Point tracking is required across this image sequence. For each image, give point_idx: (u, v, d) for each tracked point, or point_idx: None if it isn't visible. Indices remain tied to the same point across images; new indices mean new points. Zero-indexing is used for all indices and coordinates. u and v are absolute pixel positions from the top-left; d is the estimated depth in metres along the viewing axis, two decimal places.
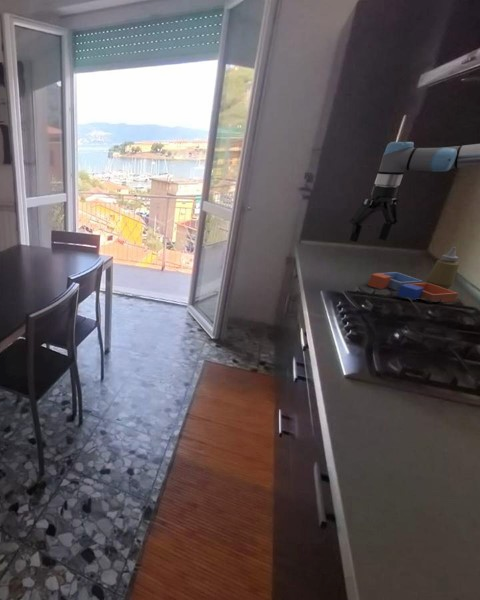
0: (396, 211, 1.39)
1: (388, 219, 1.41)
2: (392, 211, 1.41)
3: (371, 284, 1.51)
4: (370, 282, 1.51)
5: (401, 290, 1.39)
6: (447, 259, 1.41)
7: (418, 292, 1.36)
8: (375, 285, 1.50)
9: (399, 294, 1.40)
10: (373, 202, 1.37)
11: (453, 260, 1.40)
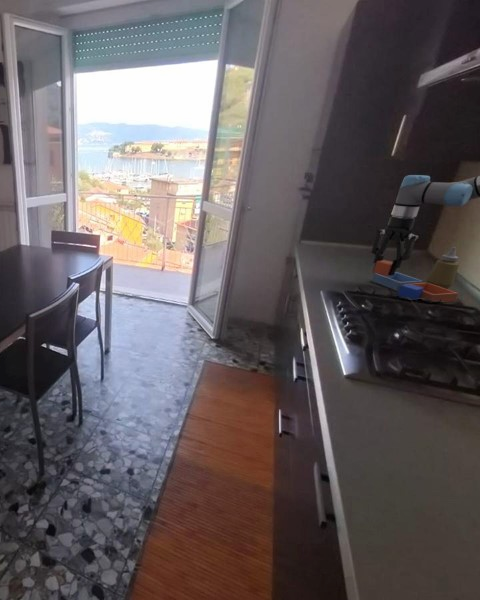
0: (407, 248, 1.39)
1: None
2: None
3: (376, 271, 1.48)
4: (375, 269, 1.48)
5: (401, 290, 1.39)
6: (447, 259, 1.41)
7: (418, 292, 1.36)
8: (381, 272, 1.47)
9: (399, 294, 1.40)
10: (385, 230, 1.45)
11: (453, 260, 1.40)
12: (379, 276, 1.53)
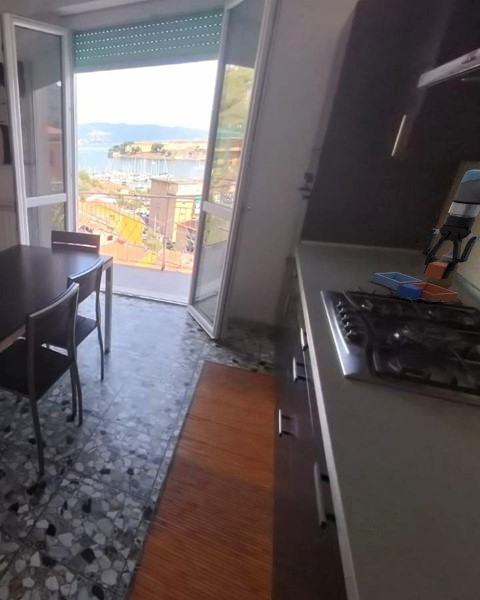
0: (465, 249, 1.28)
1: None
2: None
3: (428, 274, 1.37)
4: (427, 272, 1.37)
5: (401, 290, 1.39)
6: (447, 259, 1.41)
7: (418, 292, 1.36)
8: (433, 275, 1.36)
9: (399, 294, 1.40)
10: (439, 229, 1.33)
11: None
12: (379, 276, 1.53)
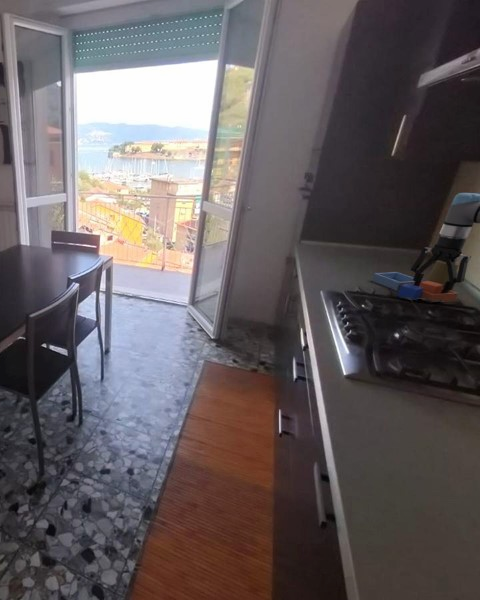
0: (460, 269, 1.30)
1: None
2: None
3: None
4: None
5: (401, 290, 1.39)
6: None
7: (418, 292, 1.36)
8: None
9: (399, 294, 1.40)
10: (431, 249, 1.37)
11: None
12: (379, 276, 1.53)
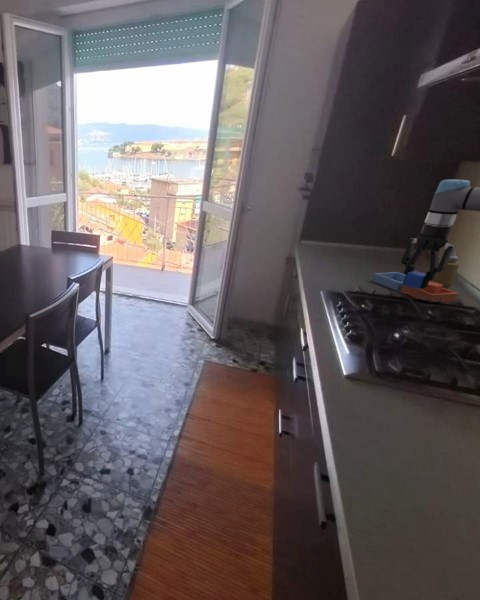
0: (442, 259, 1.27)
1: None
2: None
3: None
4: None
5: (407, 277, 1.36)
6: None
7: None
8: None
9: (405, 281, 1.37)
10: (417, 239, 1.33)
11: (453, 260, 1.40)
12: (379, 276, 1.53)
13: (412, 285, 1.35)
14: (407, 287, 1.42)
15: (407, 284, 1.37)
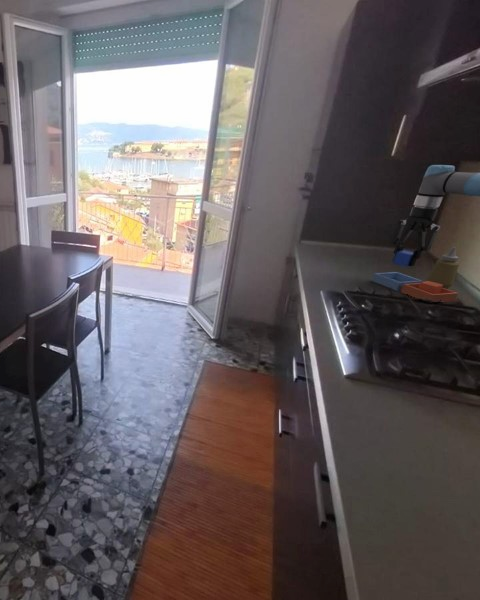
0: (429, 238, 1.39)
1: None
2: None
3: None
4: None
5: (397, 256, 1.48)
6: (447, 259, 1.41)
7: None
8: None
9: (395, 260, 1.49)
10: (406, 220, 1.45)
11: (453, 260, 1.40)
12: (379, 276, 1.53)
13: (401, 263, 1.47)
14: (407, 287, 1.42)
15: (396, 262, 1.49)
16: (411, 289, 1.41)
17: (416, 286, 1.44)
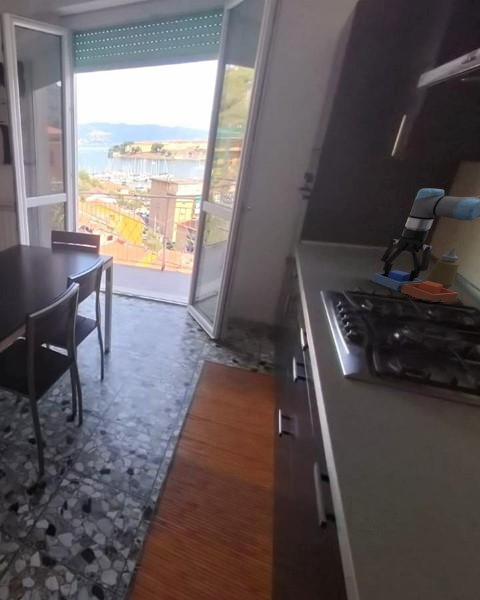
0: (423, 259, 1.41)
1: None
2: None
3: None
4: None
5: (389, 276, 1.52)
6: (447, 259, 1.41)
7: (405, 277, 1.49)
8: None
9: None
10: (398, 241, 1.48)
11: (453, 260, 1.40)
12: (379, 276, 1.53)
13: None
14: (407, 287, 1.42)
15: None
16: (411, 289, 1.41)
17: (416, 286, 1.44)
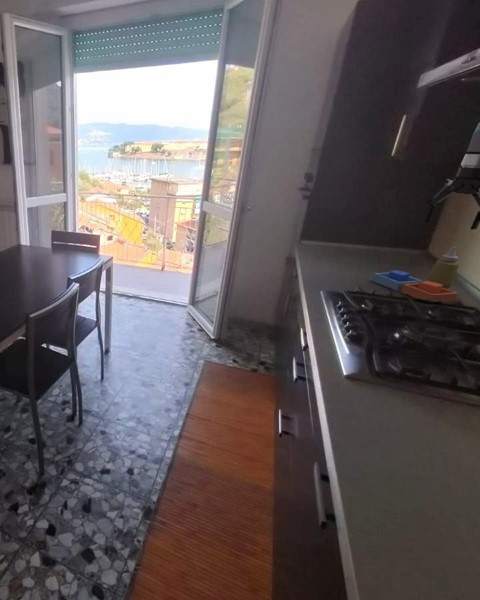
0: None
1: None
2: None
3: None
4: None
5: (389, 276, 1.52)
6: (447, 259, 1.41)
7: (405, 277, 1.49)
8: None
9: None
10: (452, 183, 1.34)
11: (453, 260, 1.40)
12: (379, 276, 1.53)
13: None
14: (407, 287, 1.42)
15: None
16: (411, 289, 1.41)
17: (416, 286, 1.44)
